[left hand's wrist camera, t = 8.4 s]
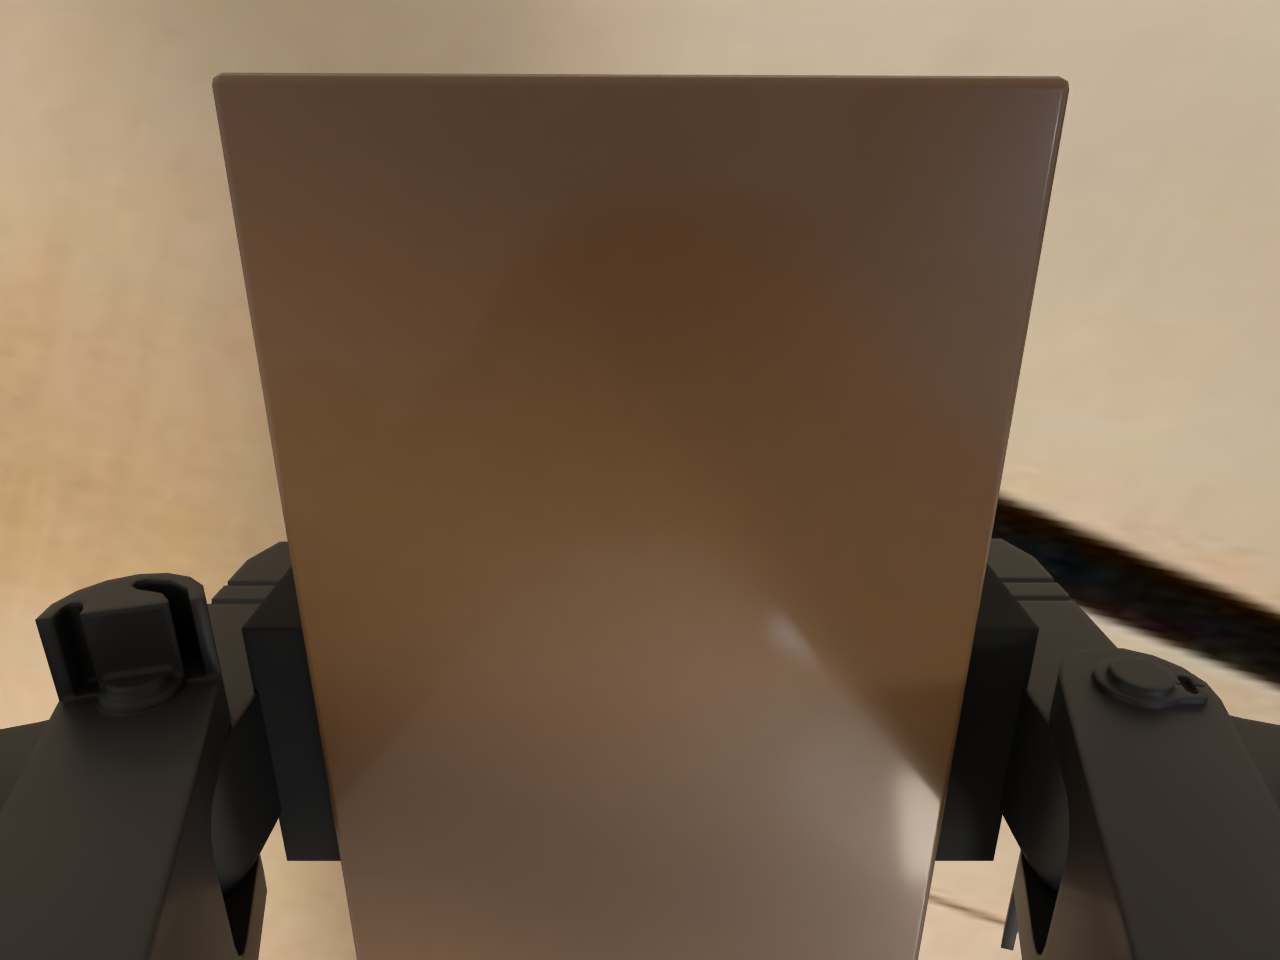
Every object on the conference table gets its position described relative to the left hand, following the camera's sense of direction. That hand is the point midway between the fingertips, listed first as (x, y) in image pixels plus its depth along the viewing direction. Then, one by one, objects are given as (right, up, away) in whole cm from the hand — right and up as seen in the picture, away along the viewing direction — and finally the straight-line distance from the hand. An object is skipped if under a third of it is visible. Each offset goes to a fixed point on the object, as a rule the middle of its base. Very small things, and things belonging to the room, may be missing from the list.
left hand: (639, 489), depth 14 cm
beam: (0, -25, +11) cm, 27 cm away
